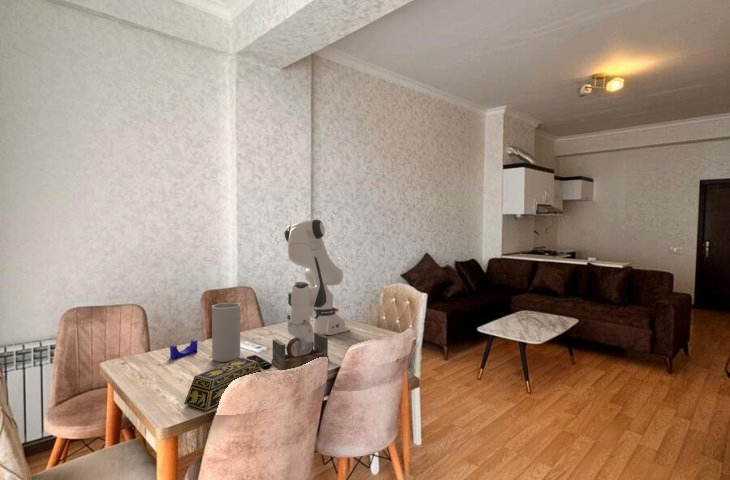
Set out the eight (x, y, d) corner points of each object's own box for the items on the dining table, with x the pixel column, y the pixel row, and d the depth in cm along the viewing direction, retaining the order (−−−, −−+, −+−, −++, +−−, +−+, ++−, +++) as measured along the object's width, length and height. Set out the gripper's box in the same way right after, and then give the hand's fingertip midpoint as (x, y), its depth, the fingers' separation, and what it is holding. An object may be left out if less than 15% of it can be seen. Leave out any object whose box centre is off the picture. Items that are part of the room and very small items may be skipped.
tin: (310, 353, 186) (310, 335, 186) (314, 354, 184) (315, 336, 185) (285, 358, 174) (286, 339, 175) (290, 359, 172) (291, 339, 173)
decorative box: (183, 404, 137) (183, 378, 137) (246, 375, 163) (246, 354, 163) (205, 411, 132) (205, 385, 132) (265, 380, 159) (266, 358, 158)
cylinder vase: (231, 363, 177) (231, 308, 176) (206, 361, 179) (206, 307, 178) (245, 354, 189) (245, 303, 188) (221, 352, 191) (221, 302, 190)
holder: (318, 354, 190) (318, 332, 190) (328, 360, 182) (328, 337, 182) (271, 363, 177) (271, 339, 176) (279, 370, 168) (280, 345, 168)
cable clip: (192, 351, 194) (192, 339, 194) (197, 352, 192) (197, 340, 191) (168, 357, 184) (168, 345, 184) (173, 359, 182) (173, 346, 181)
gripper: (317, 321, 172) (316, 352, 172) (297, 313, 189) (297, 341, 189) (304, 323, 168) (304, 355, 169) (285, 314, 185) (285, 343, 186)
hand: (300, 347), depth 179 cm, fingers closed on tin, 3 cm apart
